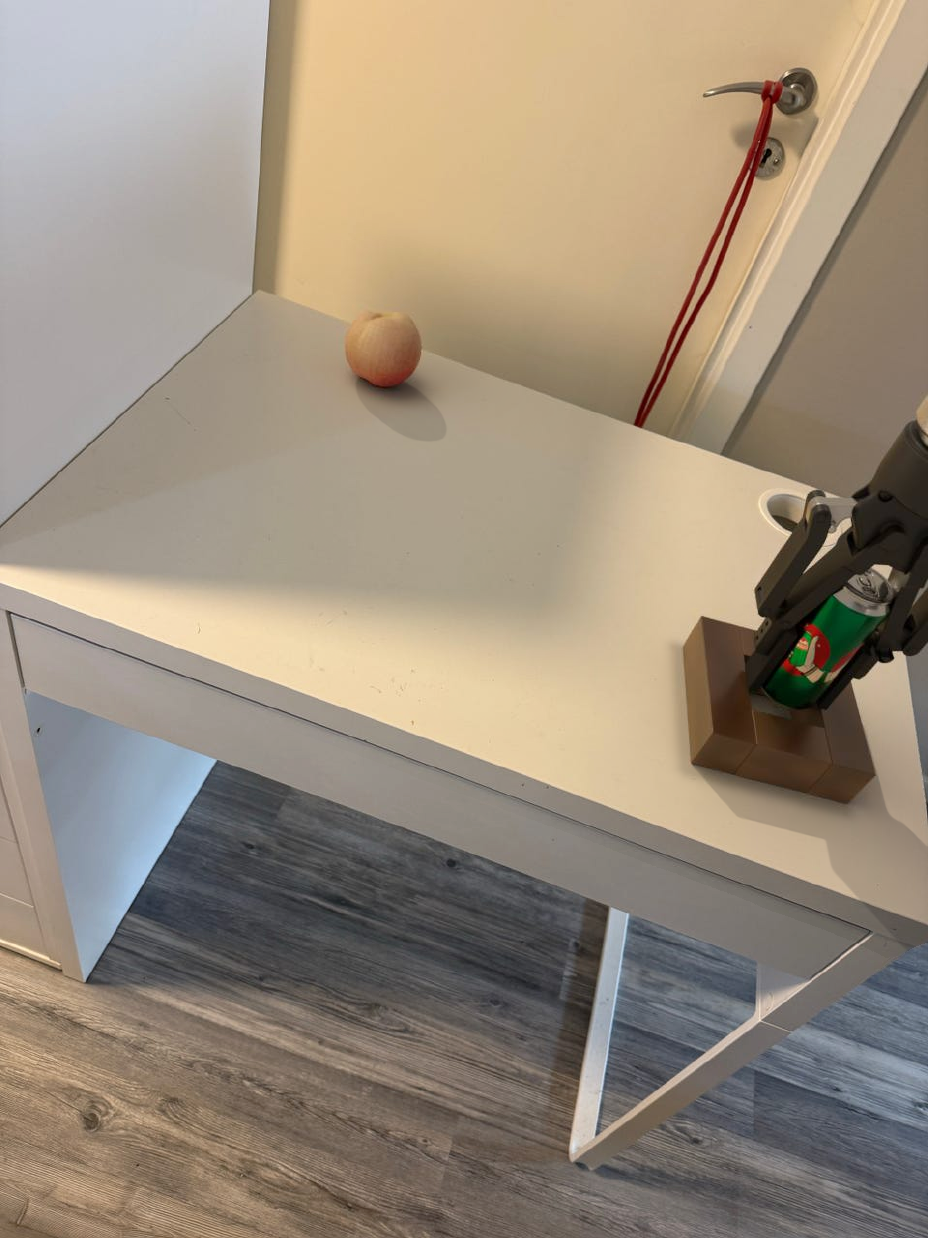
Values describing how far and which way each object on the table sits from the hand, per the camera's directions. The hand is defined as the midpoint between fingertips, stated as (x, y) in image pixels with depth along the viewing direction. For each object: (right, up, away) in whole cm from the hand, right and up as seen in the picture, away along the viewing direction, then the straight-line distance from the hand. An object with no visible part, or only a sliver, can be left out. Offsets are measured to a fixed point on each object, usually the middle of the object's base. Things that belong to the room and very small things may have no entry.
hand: (785, 686), depth 68 cm
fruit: (-36, +32, +28) cm, 55 cm away
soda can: (0, 0, 0) cm, 0 cm away
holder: (-1, -3, +3) cm, 4 cm away
